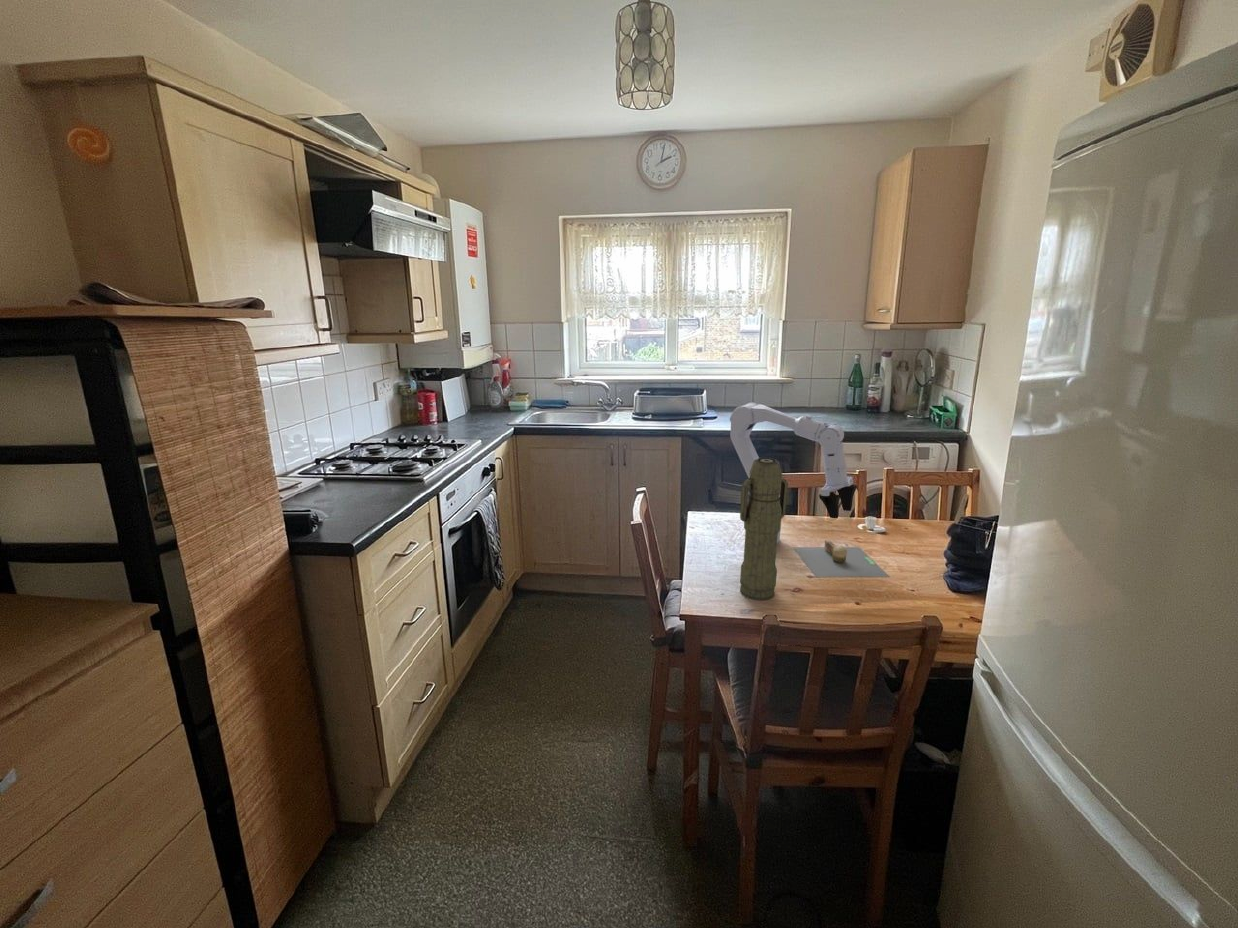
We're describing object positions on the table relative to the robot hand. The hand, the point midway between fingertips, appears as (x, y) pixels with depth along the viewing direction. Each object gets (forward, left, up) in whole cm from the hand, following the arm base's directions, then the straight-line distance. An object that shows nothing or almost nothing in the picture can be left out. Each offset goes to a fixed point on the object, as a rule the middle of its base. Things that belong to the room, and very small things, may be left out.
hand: (840, 514), depth 163 cm
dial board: (-1, -5, -14) cm, 14 cm away
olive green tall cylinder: (-28, -21, -14) cm, 38 cm away
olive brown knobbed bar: (-1, -2, -12) cm, 12 cm away
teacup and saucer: (+19, +21, -14) cm, 32 cm away
